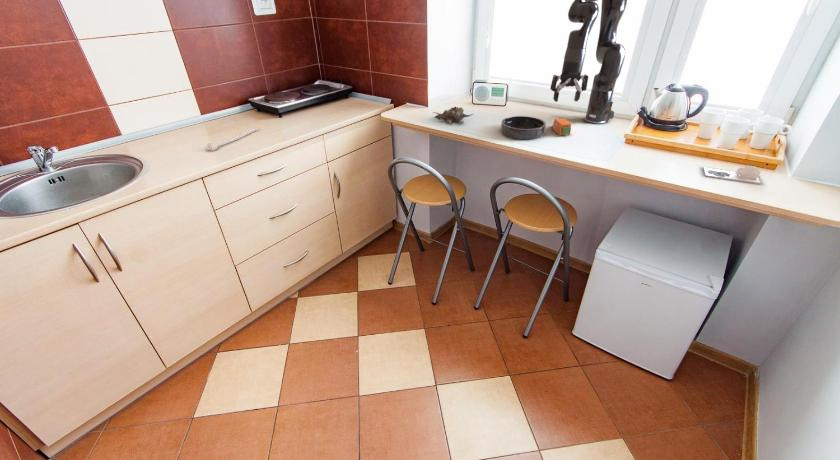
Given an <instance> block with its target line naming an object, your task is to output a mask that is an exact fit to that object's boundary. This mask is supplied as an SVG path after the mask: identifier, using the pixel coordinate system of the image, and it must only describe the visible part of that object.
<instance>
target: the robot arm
mask: <svg viewBox="0 0 840 460" xmlns="http://www.w3.org/2000/svg"><path fill="white" fill-rule="evenodd" d="M597 1H599V0H573V1H572V3H571V5H570V7H569V9H568V12H567V18H568V20H569V22H570V23H574V24H581V25H582V26H581V27H580V28H579V29H573V30H571V31H569V35H568V39H567V43H566V45H567V46H566V50H565V52H564V57H563V64H562V69H561V74H560V75H557V74H553V76H552V80H551V83H550V88H549V89H550V91H552V92H553V97H552V99H553V101H554V102H556V103H558V101H559V96H560V91H561V90H562V89H564V88H568V87H574V88H575V90H576V91H575V93H574V99H573V101H574V102H578V101H579V100H580V98H581V94H582V92H585V91H587V88H588V82H589V75H587V73H586V74H585V73H584V74H582V71H583V66H584V61H585V57H586V49H587V45H588V40H589V36H590V34H591V31H592V29H593V27H594V24H595V22H596V20H597V18H598V16H599V13H600V23H599V32H598V33H599V34H598V38H597V43H596V44H597V45H596V51H595V59H596V61H597V62H598V63H599V64H600V65H601V66H600V70H599V72H598V73H596V74H595V75H594V77H593V80H592V85H591V90H590V95H589V99H588V104H587V108H586V113H585V118H584V121H585V122H586V123H587V122H588V123H589V124H590V123H591V124H597V125H598V124H605V123H608V122H609V120H613V119H614V117H615V111H613V110H612V107H613V103H614V100H613V95H614V91H615V87H616V83H617V79H618V78H619V77H620V75H621V72H622V68H623V64H624V62H625V58H626V48H625V47H624V45H622V44H621V43H617V33H618V32H617V31H618V27H619V24H620V21H621V19H622V17H623V16H624V13H625V11H626V7H627V4H628V0H601V8H599V4H598V3H597ZM600 9H601V11H599V10H600ZM580 80H581V85H580V83H579V81H580ZM558 82H559V83H558ZM557 83H558V84H557Z"/></svg>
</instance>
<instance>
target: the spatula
mask: <svg viewBox="0 0 840 460" xmlns="http://www.w3.org/2000/svg"><path fill="white" fill-rule="evenodd" d="M252 130H253V131H252ZM258 130H259V128H258V127H254V128H253V127H252V128H251V129H247V130H245V131H243V132H241V133H238V134H236V135H234V136H232V137H229V138H227V139H226V138H225V139H224V140H221V141H218V142H209V143H207V144H206V149H207V150H208V151H210V152H211V151H217V149H218V148H219V147H221V146H223V145H228V144H230V143H232V142H235V141H237V140H240V139H241V138H244V137H246V136H248V135H250V134H251V133H255V132H256V131H258ZM235 138H236V139H235ZM228 141H229V142H228ZM223 143H224V144H223ZM218 145H219V146H218ZM215 147H216V148H215ZM208 148H210V149H208ZM212 148H213V149H212Z"/></svg>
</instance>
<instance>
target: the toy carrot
mask: <svg viewBox="0 0 840 460" xmlns="http://www.w3.org/2000/svg"><path fill="white" fill-rule="evenodd" d="M552 130H553V131H555V132H556V133H557V135H559V136H570V134H571V132H572V131H571V130H572V123H571V122H570V121H569V120H567V119H566V118H555V119H554V120H553V123H552Z"/></svg>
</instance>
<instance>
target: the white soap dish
mask: <svg viewBox="0 0 840 460" xmlns="http://www.w3.org/2000/svg"><path fill="white" fill-rule="evenodd" d="M703 173H704V176H705V177H708V178H714V179H722V180H728V181H734V182H735V181H736V182H742V183H748V184H749V183H750V184H755V185H761V183H762V182H761V180H760V179H759V178H760V177H761V176H760V175H761V173H762V171H761V170H760V169H758V167H757V166H755V165H745V166H743V167H739V168H737V170H736V171H731V170H725V169H718V168H710V167H703Z"/></svg>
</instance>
